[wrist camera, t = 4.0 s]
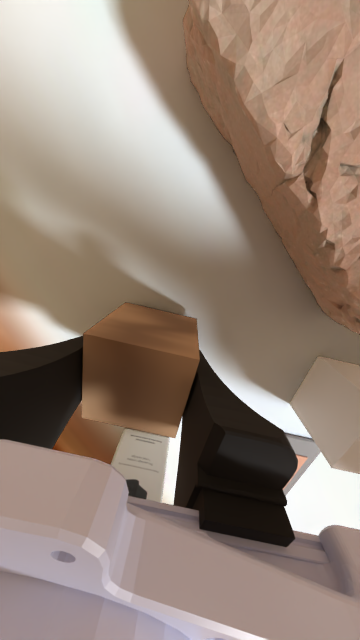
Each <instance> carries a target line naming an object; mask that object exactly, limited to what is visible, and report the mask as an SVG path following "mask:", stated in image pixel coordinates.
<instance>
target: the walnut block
mask: <svg viewBox="0 0 360 640" xmlns="http://www.w3.org/2000/svg"><path fill="white" fill-rule="evenodd" d="M199 361H200V356H199V343H198V330H197V319H195V318H191V317H187V316H183V315H178V314H174V313H170V312H165V311H161V310H157V309H152V308H148V307H144V306H140V305H135V304H131V303H127V302H125V303H124V304H123V305H121V306H120V307H119V308H117V309H116V310H115V311H113V312H112V313H110V314H109V315H108V316H106V317H105V318H104V319H102V320H101V321H100V322H98V323H97V324H96V325H94V326H93V327H91V328H90V329H89V330H87V331H86V332H85V333H83V377H82V418H85V419H89V420H94V421H99V422H103V423H108V424H112V425H117V426H122V427H126V428H131V429H135V430H140V431H145V432H149V433H154V434H158V435H163V436H167V437H172V438H175V437H176V434H177V431H178V428H179V424H180V421H181V418H182V415H183V412H184V408H185V405H186V402H187V399H188V396H189V393H190V389H191V386H192V383H193V380H194V377H195V374H196V370H197V367H198V364H199Z"/></svg>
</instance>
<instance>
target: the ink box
mask: <svg viewBox="0 0 360 640" xmlns="http://www.w3.org/2000/svg"><path fill="white" fill-rule="evenodd" d="M168 448H169V438H168V437H164V436H160V435H156V434H151V433H146V432H142V431H137V430H132V429H124V431H123V433H122V436H121V438H120V441H119V443H118V446H117V449H116V451H115V454H114V457H113V459H112V462H111V464H110V465H112V466H113V467H114V468H116V469H117V470H118V471H119V472H120V473H121V474H122V475H123V476H124V478H125V480H126V483H127V487H128V491H129V493H128V496H132V497H136V498H141V499H146V500H151V501H155V502H160V503H162V496H163V488H164V479H165V472H166V463H167V455H168Z"/></svg>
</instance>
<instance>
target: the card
mask: <svg viewBox="0 0 360 640" xmlns="http://www.w3.org/2000/svg"><path fill="white" fill-rule="evenodd" d="M285 435H286V437H287V438H288V440H289V442H290V444H291V446H292V448H293V450H294V452H295V454H296V456H297V459H298V467H297V470H296V472H295V473H294V475H293V477H292V478H291V479H290V480H289V482H288V483H287V484H286V486H285V487H284V488H283V492H284V495H285V496H286V494H287V493H288V492H289V491H290V489H291V488H292V487H293V486H294V484H295V483H296V482H297V481H298V479H299V478H300V477H301V476H302V474H303V473H304V472H305V471H306V469H307V468H308V467H309V466H310V464H311V463H312V462H313V461H314V459H315V458H316V457H317V456H318V454H319V453H320V452H321V451H320V449H319V448H318V446H317V445H316V443H315V442H314V440H312V439H307V438H303V437H298V436H294V435H289V434H285Z"/></svg>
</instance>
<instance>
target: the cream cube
mask: <svg viewBox="0 0 360 640" xmlns="http://www.w3.org/2000/svg"><path fill="white" fill-rule="evenodd" d="M289 404H290V405H291V407H292V408H293V410H294V411H295V413H296V414H297V416H298V417H299V419H300V420H301V422H302V423H303V425H304V426H305V428H306V429H307V431H308V433H309V434H310V436H311V437H312V439H313V440H314V442H315V443H316V445H317V446H318V448H319V449H320V451H321V452H322V454H323V455H324V457H325V458H326V460H327V461H328V463H329V464H330V466H331V468H334V469H339V470H344V471H348V472H353V473H358V474H360V365H356V364H352V363H347V362H343V361H339V360H334V359H330V358H326V357H321V356H318V357H317V358H316V360H315V362H314V363H313V365H312V367H311V368H310V370H309V372H308V373H307V375H306V377H305V378H304V380H303V382H302V383H301V385H300V387H299V388H298V390H297V392H296V393H295V395H294V396H293V398H292V400H291V401H290V403H289Z"/></svg>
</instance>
